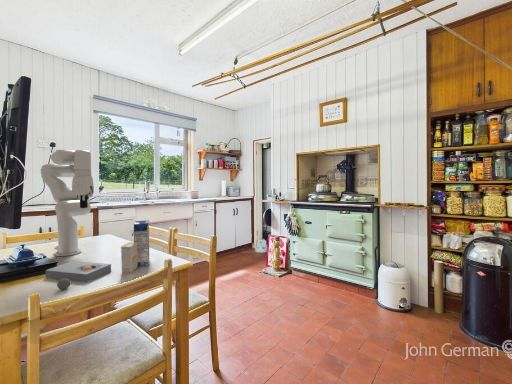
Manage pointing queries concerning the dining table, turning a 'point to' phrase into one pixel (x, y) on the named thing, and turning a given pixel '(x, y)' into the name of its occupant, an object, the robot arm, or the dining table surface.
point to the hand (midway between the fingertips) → (83, 207)
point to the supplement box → (129, 257)
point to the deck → (78, 271)
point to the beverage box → (142, 242)
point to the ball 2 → (87, 268)
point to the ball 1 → (63, 283)
